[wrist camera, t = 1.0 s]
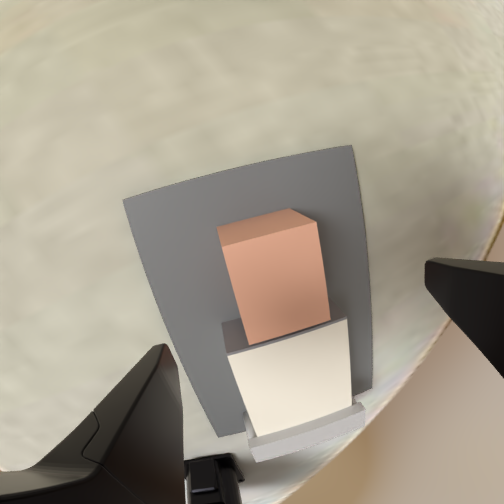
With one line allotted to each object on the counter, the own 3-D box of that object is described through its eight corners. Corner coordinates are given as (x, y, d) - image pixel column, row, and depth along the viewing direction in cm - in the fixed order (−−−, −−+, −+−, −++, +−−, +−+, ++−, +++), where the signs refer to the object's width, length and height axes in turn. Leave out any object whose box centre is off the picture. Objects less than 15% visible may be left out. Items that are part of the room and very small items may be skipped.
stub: (304, 288, 22) (330, 319, 17) (237, 307, 22) (249, 345, 17) (289, 208, 20) (316, 221, 16) (215, 227, 20) (221, 247, 15)
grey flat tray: (369, 384, 27) (395, 419, 22) (217, 433, 26) (223, 477, 21) (347, 145, 20) (391, 142, 15) (124, 199, 19) (98, 211, 14)
